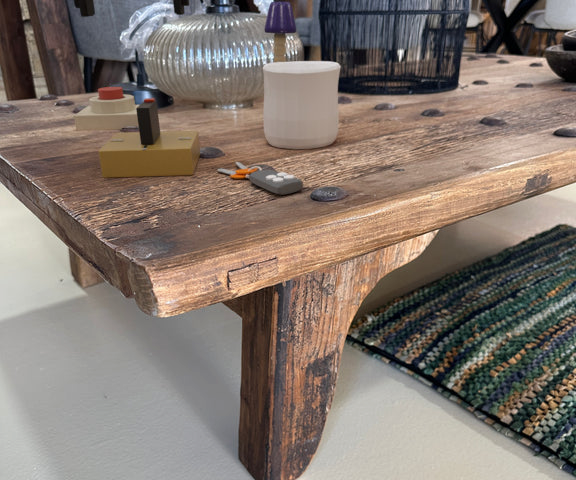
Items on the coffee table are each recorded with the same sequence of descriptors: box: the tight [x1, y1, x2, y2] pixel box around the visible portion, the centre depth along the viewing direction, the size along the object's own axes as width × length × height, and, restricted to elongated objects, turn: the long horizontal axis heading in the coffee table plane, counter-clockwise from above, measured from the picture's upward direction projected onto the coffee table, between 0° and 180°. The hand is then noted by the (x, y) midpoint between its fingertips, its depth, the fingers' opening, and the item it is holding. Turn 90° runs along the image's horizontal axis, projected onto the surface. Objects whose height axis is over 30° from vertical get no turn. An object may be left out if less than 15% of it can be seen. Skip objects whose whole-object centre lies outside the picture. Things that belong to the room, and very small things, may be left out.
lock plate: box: [97, 130, 201, 179], centre depth 67 cm, size 10×9×3 cm
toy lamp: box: [264, 1, 297, 63], centre depth 85 cm, size 5×5×17 cm
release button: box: [97, 86, 124, 100], centre depth 87 cm, size 4×4×2 cm
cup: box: [262, 60, 342, 150], centre depth 75 cm, size 10×10×10 cm
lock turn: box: [136, 97, 161, 145], centre depth 65 cm, size 5×1×4 cm, turn 2°
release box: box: [73, 93, 140, 131], centre depth 88 cm, size 10×8×4 cm
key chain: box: [216, 161, 304, 196], centre depth 61 cm, size 13×4×2 cm, turn 38°
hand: (134, 15), depth 60 cm, fingers open, 9 cm apart
